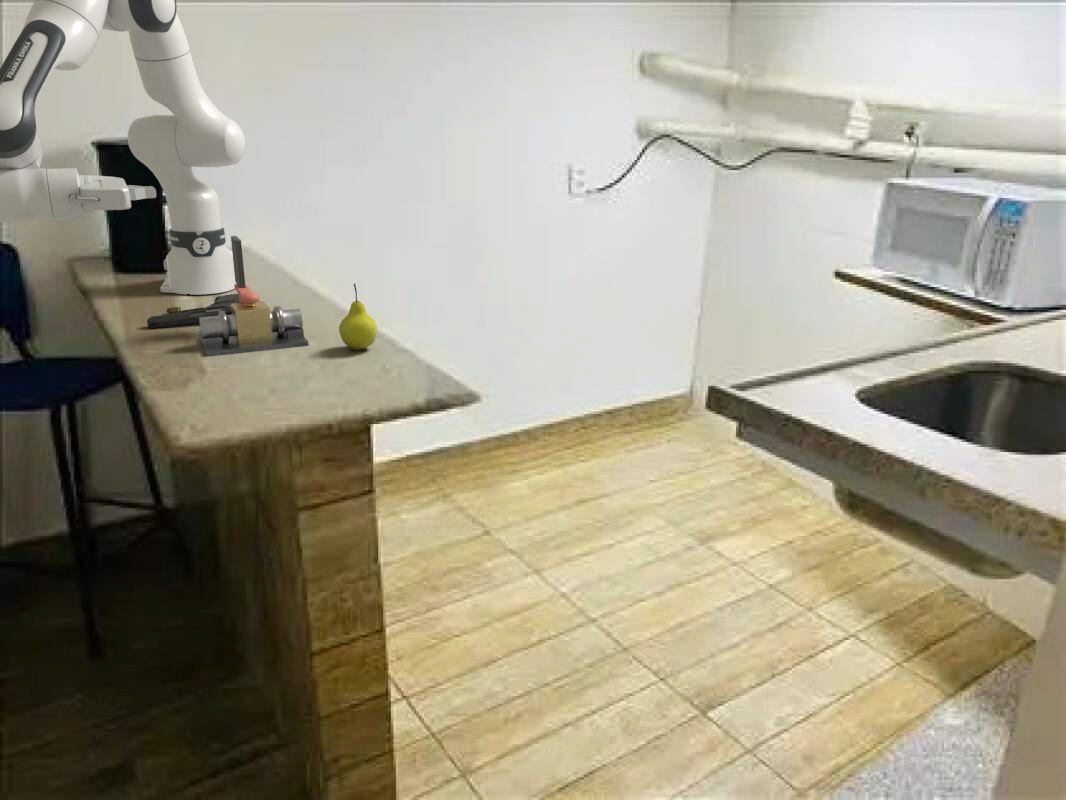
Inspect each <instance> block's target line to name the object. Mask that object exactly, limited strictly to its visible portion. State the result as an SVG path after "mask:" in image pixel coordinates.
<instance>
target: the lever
mask: <svg viewBox="0 0 1066 800" xmlns="http://www.w3.org/2000/svg"><path fill="white" fill-rule="evenodd" d="M230 241H231V251H232V253H233V263H234V273H235V282H236V283H237V284H234V286H235V289H234V290H235V291H236V293H237V294H239V302H240V303H246V304H249V303H257V302H259V301H261V300H260V294H259V293H257V292H253V291H252V290H251V289H250V288H249V287H248V286H247V284H246V279H245V269H244V268H245V267H244V257H243V247H242V245H243V244H242V240H241V239H240V238H239V237H238V236H237V235H230Z"/></svg>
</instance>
